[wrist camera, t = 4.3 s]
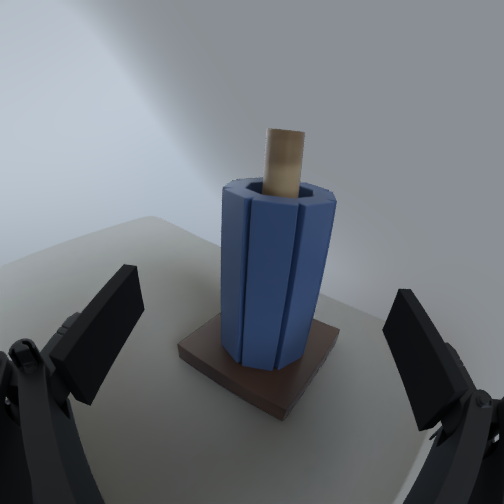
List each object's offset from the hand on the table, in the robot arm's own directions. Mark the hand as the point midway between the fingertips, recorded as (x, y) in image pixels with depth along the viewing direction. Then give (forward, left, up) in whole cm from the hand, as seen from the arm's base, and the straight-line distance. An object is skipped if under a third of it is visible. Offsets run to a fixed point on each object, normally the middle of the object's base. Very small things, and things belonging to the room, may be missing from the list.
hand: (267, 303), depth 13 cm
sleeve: (+3, -3, -6) cm, 8 cm away
